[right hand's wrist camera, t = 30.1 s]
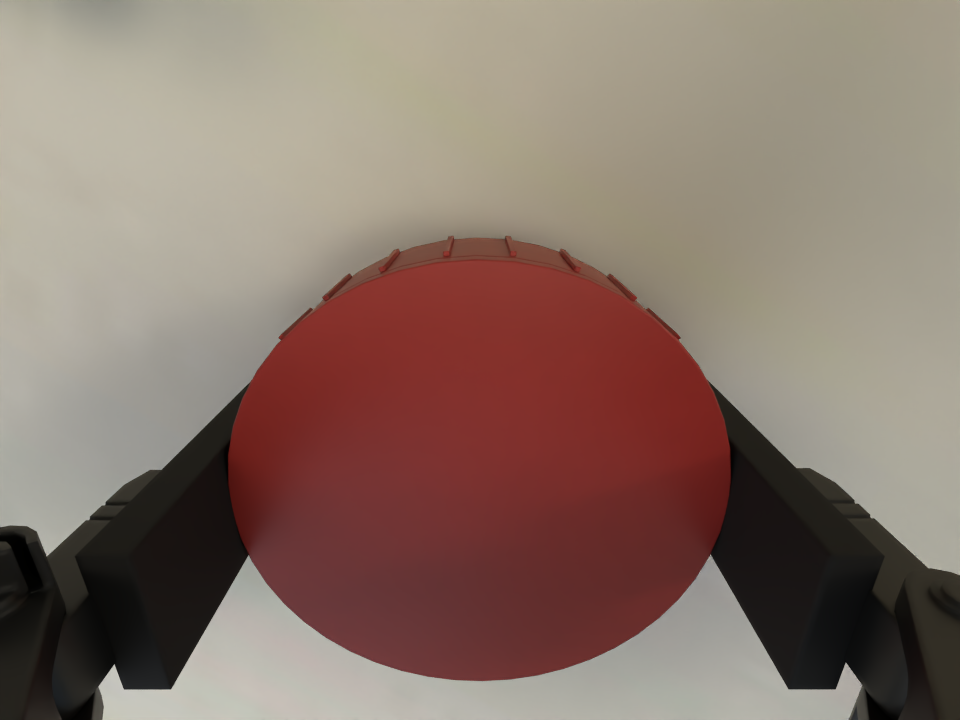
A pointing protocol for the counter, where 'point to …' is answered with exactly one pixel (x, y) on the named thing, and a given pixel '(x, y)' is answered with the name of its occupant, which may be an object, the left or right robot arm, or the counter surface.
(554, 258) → the lid
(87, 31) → the counter surface
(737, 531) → the right robot arm
